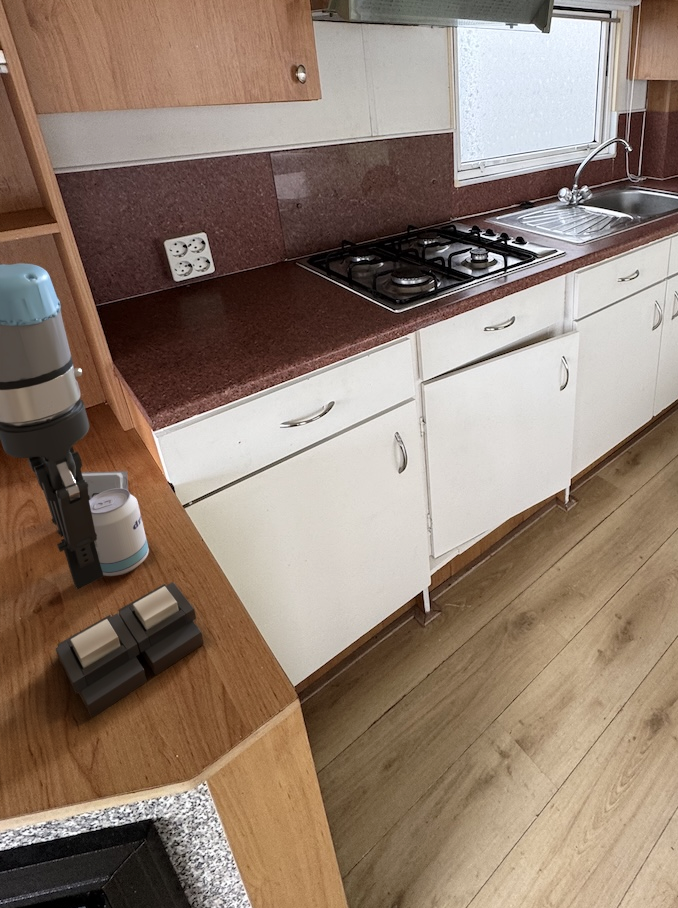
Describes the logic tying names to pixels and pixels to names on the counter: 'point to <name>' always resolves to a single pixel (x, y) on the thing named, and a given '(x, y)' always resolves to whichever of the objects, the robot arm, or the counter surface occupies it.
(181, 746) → the counter surface
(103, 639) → the c key
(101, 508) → the beverage can
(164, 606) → the e key
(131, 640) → the near key block
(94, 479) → the electrical switch
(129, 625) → the far key block
